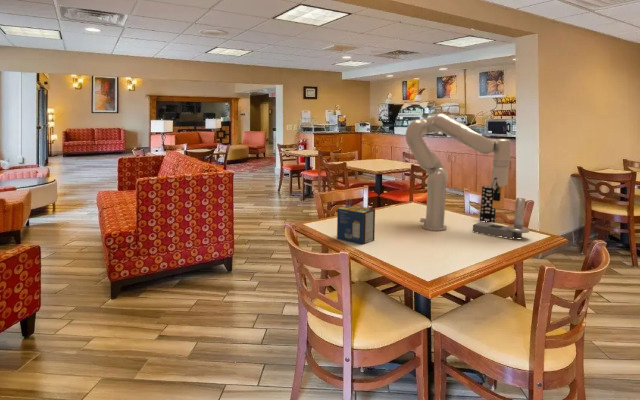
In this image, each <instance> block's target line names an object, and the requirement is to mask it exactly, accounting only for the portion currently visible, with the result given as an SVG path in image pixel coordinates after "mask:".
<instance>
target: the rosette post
mask: <svg viewBox="0 0 640 400" xmlns="http://www.w3.org/2000/svg"><path fill="white" fill-rule="evenodd" d="M525 205H526V198H523V197H516V199H515V210H514V221H513V225H508V226H507V230H508V231H511V232H514V238H523V237H522V236H523V234H528V233H530V228H528V227H526V226H524V219H525V208H526V207H525Z"/></svg>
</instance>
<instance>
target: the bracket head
mask: <svg viewBox="0 0 640 400" xmlns="http://www.w3.org/2000/svg"><path fill="white" fill-rule="evenodd" d="M507 227H508V226H507V225H501V224H495V223H486V222H481V221H480V222H477V223H473V224H472V232H473V231H474V232H473V233H475V232H478V233H477V234H480V233H484V234H483V235H486V234H490V235H489V236H491V235H495V236H494V237H496V236H502V237H507V238H513V237H514V232H511V231H508V230H507Z"/></svg>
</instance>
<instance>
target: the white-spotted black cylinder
mask: <svg viewBox="0 0 640 400" xmlns="http://www.w3.org/2000/svg"><path fill="white" fill-rule="evenodd" d="M492 205H493V188H492V186H491V185H484V186H481V198H480V210H479V211H480V212H479V221H480V222H481V221H485V223H486V221H487V222H493V223H495V222H496V213H497V212H496V211H497V209H496V208H492Z"/></svg>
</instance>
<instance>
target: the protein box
mask: <svg viewBox="0 0 640 400" xmlns="http://www.w3.org/2000/svg"><path fill="white" fill-rule="evenodd" d="M336 213H337V218H336V219H337V220H336V224H337V225H336V227H337V228H336V239H337V240H339V241H344V242H348V243H354V244H357V245H365V244H368V243H370V242H373V241H375V229H376V228H375V227H376V225H375V224H376V223H375V222H376V209H375V208H369V207H364V206H357V205H352V204H351V205H350V204H348V205H346V206H345V205H344V206H341V207H337V212H336Z"/></svg>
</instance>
